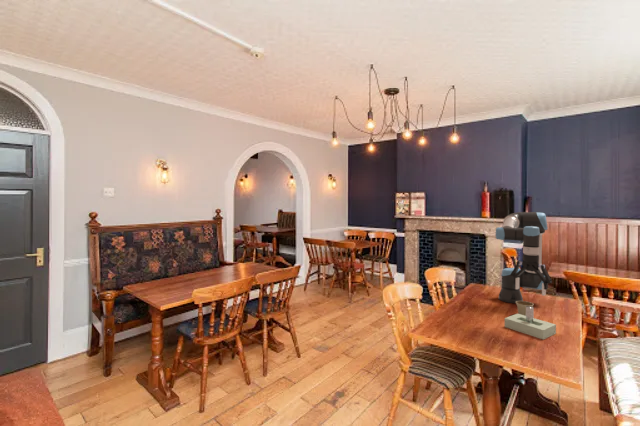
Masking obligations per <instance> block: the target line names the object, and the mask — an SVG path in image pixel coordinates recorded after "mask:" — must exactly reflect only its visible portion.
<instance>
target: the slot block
mask: <svg viewBox="0 0 640 426" xmlns="http://www.w3.org/2000/svg"><path fill="white" fill-rule="evenodd" d="M504 328H507V329H511V330H513V331H516V332H519V333H522V334H525V335H527V336H531V337H534V338H537V339H540V340H546V339H548V338H550V337H552V336H554V335H556V334H557V324H555V323H552V322H548V321H546V320H541V319H538V318H536V317H535V318H533V324H532V323H528V322H526V316H525V315H521V314H518V313H515V314H513V315H510V316H507V317H504Z"/></svg>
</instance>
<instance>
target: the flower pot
mask: <svg viewBox="0 0 640 426" xmlns="http://www.w3.org/2000/svg"><path fill="white" fill-rule="evenodd" d="M515 304H516V306H517V307H516V308H517V314H521V315H525V316H526V306H531V307H533V308H534V305H535V304H534V303H533V302H530V301H527V300H526V301H524V300H523V301H516V303H515Z"/></svg>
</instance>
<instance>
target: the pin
mask: <svg viewBox="0 0 640 426" xmlns="http://www.w3.org/2000/svg"><path fill="white" fill-rule="evenodd" d="M534 313H535V311H534V306H533V307H531V306H526V322H528V323H532V324H533V318H534V316H535V314H534Z"/></svg>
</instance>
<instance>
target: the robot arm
mask: <svg viewBox="0 0 640 426" xmlns="http://www.w3.org/2000/svg"><path fill="white" fill-rule="evenodd" d="M502 223H503V224H502V226H499V227H496V228H495V239H496V240H501V241H514V242H515V241H518V242H519V241H520V242H522V243H523V244H522V253H523V254H522V260H517V261H516V264H515V266H514V267H506V268H503V269H502V270H501V289H500V292H499V294H498V300H499V301H501V302H503V303H504V302H505V303H509V304H516V301H524V299H523V295H522V292H521V288H525V289H532V290H539V291H540V290H541V296H546V294H547V290H549V289H548V287H549V284H552V283H553V280H552V278H551V276H550V274H549V272H548V270H547V268H546V267H547V265H546V264H543V263H542V258H543V257H542V256H543V254H542V253H543V235H544V234H545V232H546V231H547V230H549V229H548V221H547V214H546V213H544V212H537V211H535V212H532V211H526V212H525V211H519V212H513V213H510V214H508V215H506V216H505V217H504V218H503V221H502ZM521 266H523V267H522V268H520V267H521Z"/></svg>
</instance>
